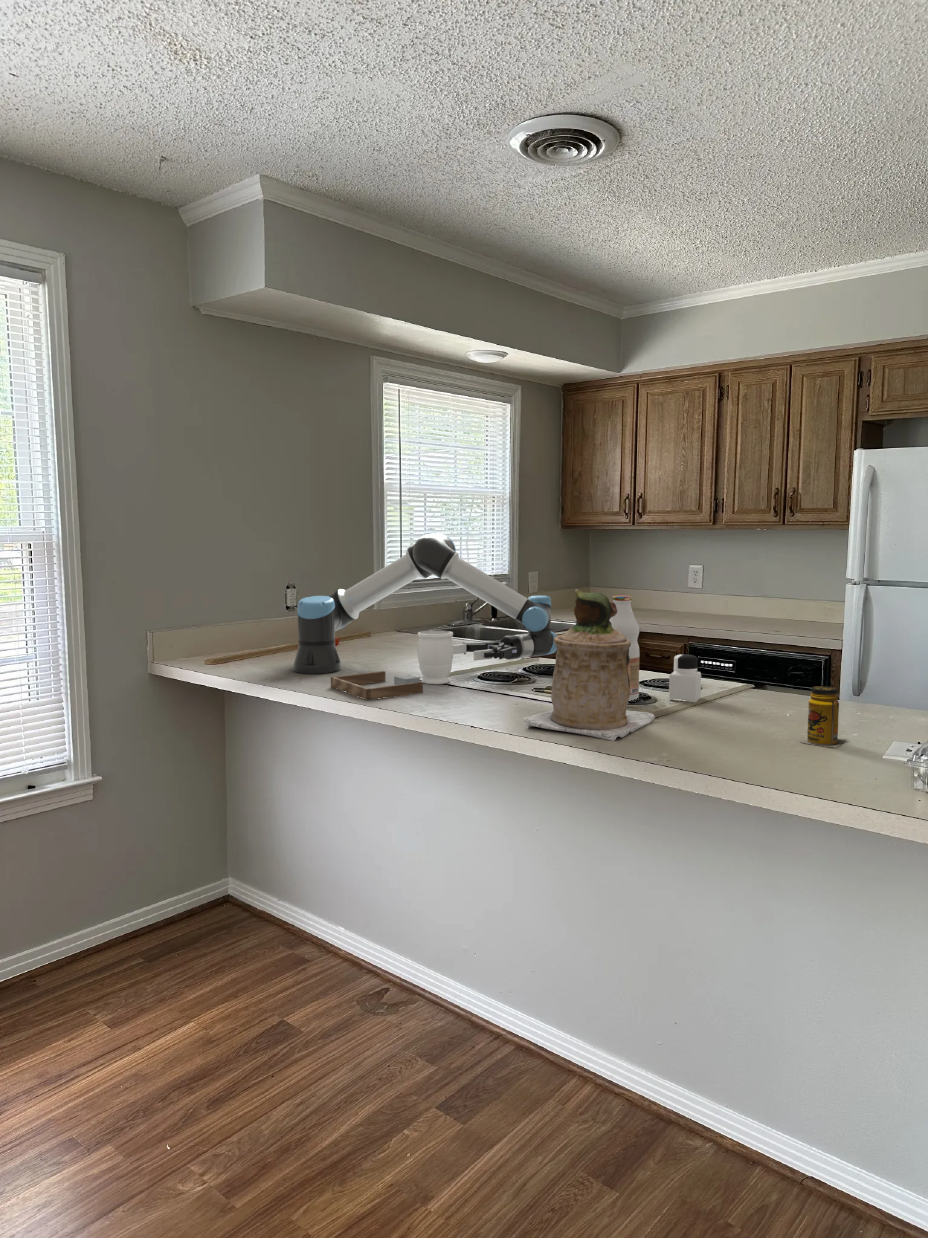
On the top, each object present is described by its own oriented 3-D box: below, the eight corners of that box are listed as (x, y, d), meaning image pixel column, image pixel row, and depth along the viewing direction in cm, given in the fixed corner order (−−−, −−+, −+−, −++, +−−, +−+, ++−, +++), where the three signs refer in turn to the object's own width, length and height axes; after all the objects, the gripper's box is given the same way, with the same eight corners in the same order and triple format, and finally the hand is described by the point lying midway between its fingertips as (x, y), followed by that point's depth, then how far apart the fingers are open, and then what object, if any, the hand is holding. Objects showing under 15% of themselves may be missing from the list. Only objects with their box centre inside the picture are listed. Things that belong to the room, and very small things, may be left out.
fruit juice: (606, 704, 223) (608, 597, 219) (599, 697, 232) (601, 594, 229) (642, 704, 223) (644, 597, 220) (633, 696, 232) (635, 594, 229)
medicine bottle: (700, 698, 230) (701, 654, 229) (695, 703, 224) (697, 658, 223) (673, 695, 233) (675, 652, 232) (668, 700, 227) (669, 656, 226)
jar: (455, 679, 259) (455, 630, 257) (451, 685, 249) (451, 634, 247) (420, 678, 260) (420, 629, 258) (415, 685, 250) (414, 634, 248)
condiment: (800, 743, 184) (802, 688, 183) (813, 735, 190) (815, 682, 189) (835, 749, 179) (838, 692, 178) (847, 741, 186) (850, 686, 184)
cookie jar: (619, 743, 185) (622, 596, 181) (519, 728, 198) (519, 591, 194) (658, 720, 206) (661, 587, 202) (565, 708, 219) (566, 584, 215)
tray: (331, 687, 247) (330, 677, 246) (383, 680, 257) (383, 670, 256) (367, 700, 229) (367, 689, 229) (422, 692, 239) (422, 682, 239)
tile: (394, 686, 250) (394, 676, 249) (408, 684, 253) (408, 674, 252) (405, 689, 245) (405, 679, 245) (419, 687, 248) (419, 677, 247)
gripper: (541, 663, 261) (485, 671, 249) (492, 653, 281) (438, 659, 269) (541, 639, 260) (485, 645, 248) (492, 631, 280) (438, 636, 268)
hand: (461, 653), depth 259 cm, fingers open, 13 cm apart
